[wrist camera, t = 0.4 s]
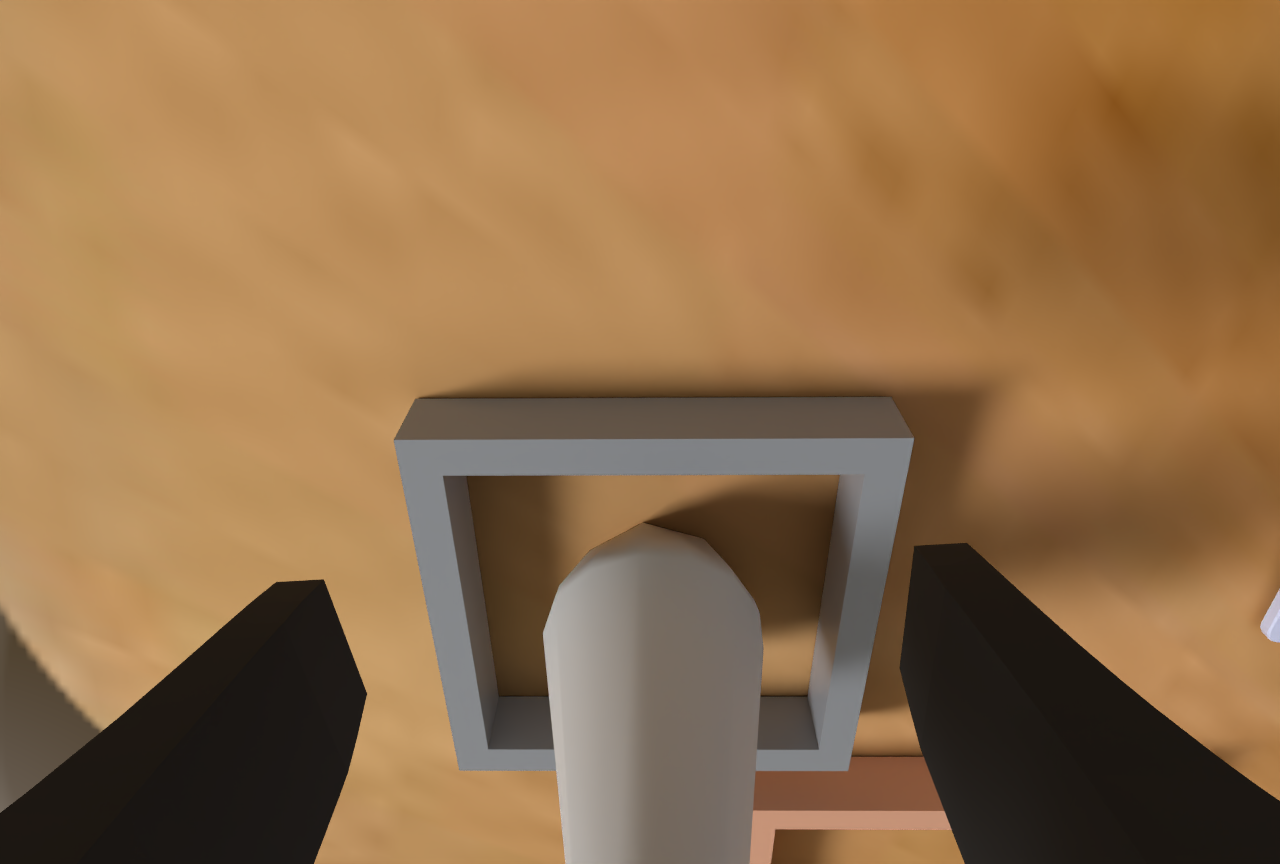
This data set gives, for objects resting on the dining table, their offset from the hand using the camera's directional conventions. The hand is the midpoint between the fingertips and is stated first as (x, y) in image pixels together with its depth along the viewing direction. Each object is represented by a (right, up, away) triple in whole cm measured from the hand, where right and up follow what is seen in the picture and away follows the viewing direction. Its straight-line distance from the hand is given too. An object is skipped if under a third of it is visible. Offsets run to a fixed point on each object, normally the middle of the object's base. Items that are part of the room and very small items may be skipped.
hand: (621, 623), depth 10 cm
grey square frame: (+1, -2, +13) cm, 13 cm away
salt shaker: (+1, -2, +13) cm, 13 cm away
